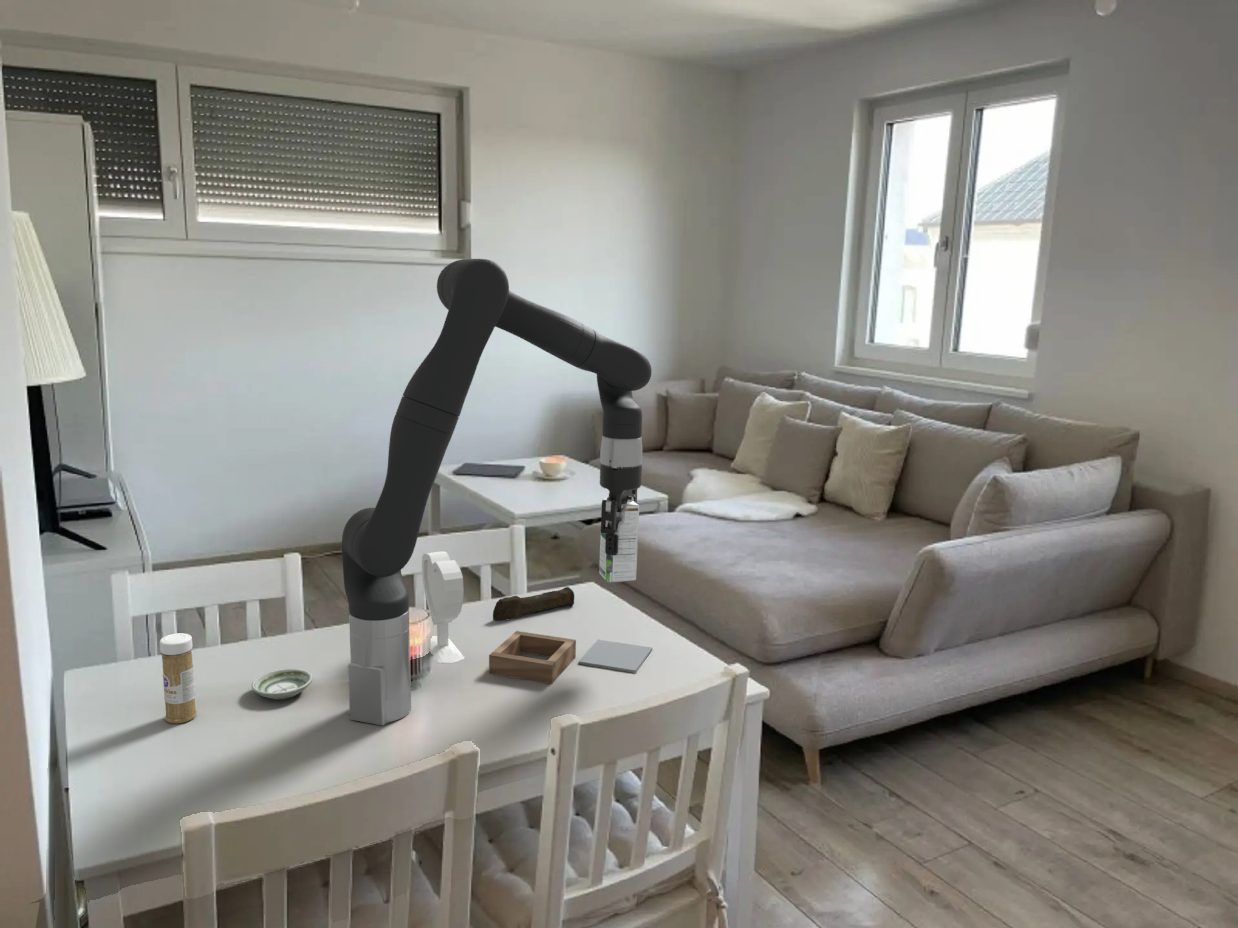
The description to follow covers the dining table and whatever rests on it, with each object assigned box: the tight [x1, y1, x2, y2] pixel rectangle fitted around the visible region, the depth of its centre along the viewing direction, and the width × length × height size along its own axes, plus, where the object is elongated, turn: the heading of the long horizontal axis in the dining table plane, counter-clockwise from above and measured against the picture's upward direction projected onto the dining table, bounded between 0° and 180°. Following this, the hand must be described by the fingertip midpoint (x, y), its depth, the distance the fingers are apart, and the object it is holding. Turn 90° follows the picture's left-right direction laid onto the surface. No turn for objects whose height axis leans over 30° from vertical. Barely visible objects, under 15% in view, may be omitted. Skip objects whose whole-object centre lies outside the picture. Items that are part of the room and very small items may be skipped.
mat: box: [578, 639, 653, 674], centre depth 173 cm, size 11×11×1 cm
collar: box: [488, 630, 577, 685], centre depth 168 cm, size 12×12×4 cm
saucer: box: [251, 668, 314, 700], centre depth 155 cm, size 10×10×2 cm
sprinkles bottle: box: [159, 632, 198, 724], centre depth 144 cm, size 5×5×13 cm
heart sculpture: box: [421, 551, 465, 664], centre depth 172 cm, size 16×5×18 cm, turn 27°
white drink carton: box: [598, 497, 640, 583], centre depth 168 cm, size 6×6×14 cm
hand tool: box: [492, 586, 575, 621], centre depth 194 cm, size 19×4×5 cm, turn 124°
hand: (618, 548), depth 168 cm, fingers closed on white drink carton, 8 cm apart
